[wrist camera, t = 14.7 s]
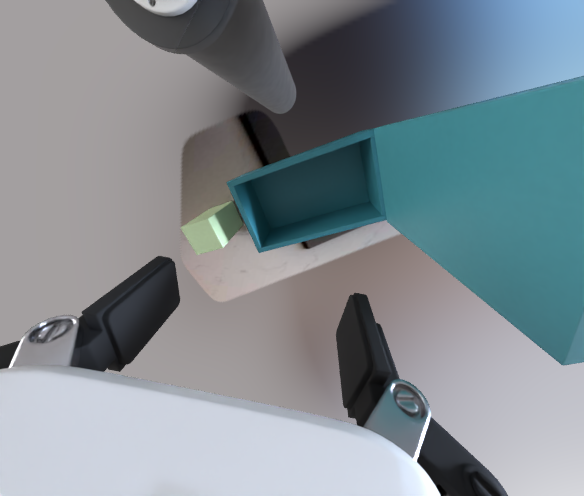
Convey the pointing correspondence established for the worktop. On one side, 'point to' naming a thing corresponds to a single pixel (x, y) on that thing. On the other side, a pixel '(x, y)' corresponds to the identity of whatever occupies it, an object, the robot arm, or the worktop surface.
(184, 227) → the carton
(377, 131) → the lunchbox lid
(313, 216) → the box
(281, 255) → the worktop surface
